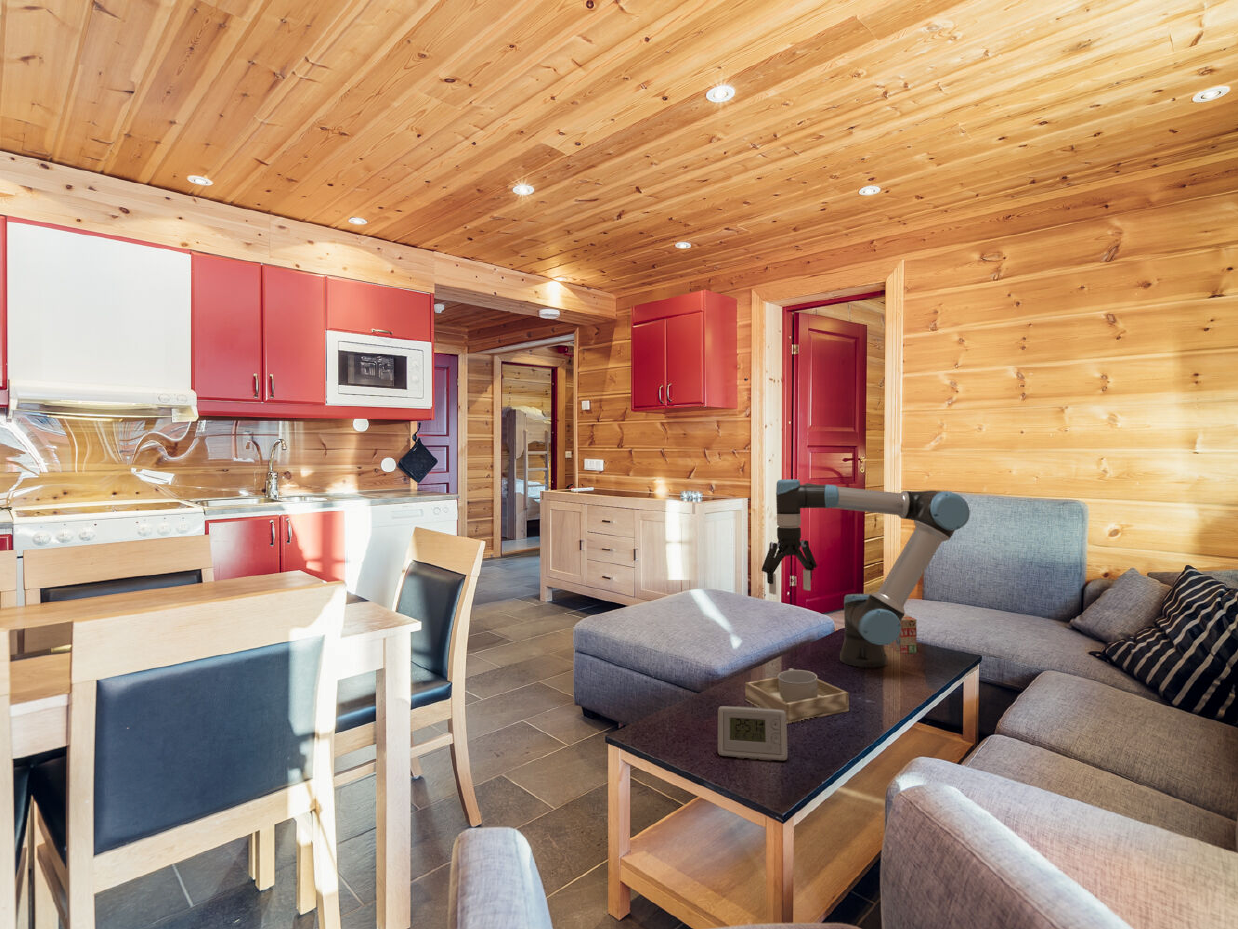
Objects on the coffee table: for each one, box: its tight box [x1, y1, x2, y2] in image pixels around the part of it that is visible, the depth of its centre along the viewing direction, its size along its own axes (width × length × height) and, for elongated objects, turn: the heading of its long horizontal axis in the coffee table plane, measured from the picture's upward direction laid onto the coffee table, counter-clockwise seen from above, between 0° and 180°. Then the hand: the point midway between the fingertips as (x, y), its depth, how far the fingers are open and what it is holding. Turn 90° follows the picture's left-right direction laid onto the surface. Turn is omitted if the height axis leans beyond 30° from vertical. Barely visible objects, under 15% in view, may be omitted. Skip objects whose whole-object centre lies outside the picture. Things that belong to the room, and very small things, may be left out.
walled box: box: [744, 676, 850, 725], centre depth 180 cm, size 21×19×5 cm
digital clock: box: [717, 705, 788, 761], centre depth 150 cm, size 16×9×11 cm, turn 66°
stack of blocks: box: [886, 613, 918, 654], centre depth 238 cm, size 21×6×12 cm, turn 3°
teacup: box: [777, 668, 819, 703], centre depth 180 cm, size 14×11×8 cm
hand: (790, 591), depth 207 cm, fingers open, 13 cm apart
